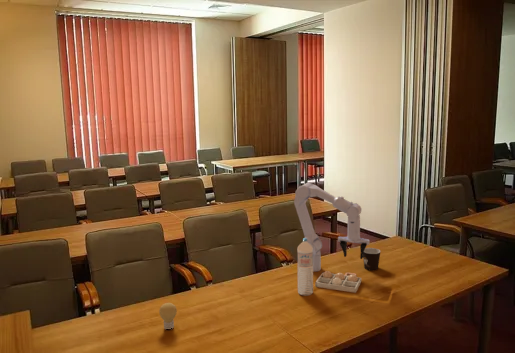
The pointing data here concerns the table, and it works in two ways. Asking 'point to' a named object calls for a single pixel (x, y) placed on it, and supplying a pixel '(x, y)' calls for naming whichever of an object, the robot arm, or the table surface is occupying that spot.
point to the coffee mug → (371, 258)
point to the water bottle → (305, 268)
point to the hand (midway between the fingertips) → (353, 257)
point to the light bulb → (168, 314)
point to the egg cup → (349, 274)
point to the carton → (349, 280)
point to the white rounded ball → (336, 281)
